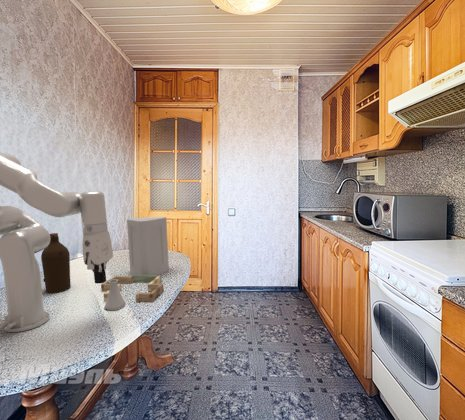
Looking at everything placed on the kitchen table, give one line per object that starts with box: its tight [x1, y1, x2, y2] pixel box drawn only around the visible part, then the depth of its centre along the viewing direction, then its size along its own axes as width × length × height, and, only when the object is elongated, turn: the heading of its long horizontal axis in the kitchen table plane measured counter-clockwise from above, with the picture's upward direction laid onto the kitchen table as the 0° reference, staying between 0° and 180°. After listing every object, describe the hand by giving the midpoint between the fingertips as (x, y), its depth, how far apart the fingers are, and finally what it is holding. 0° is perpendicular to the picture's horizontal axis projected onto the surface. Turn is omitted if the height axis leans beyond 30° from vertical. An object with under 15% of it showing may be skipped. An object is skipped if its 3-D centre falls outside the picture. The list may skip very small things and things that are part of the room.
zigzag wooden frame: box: [100, 274, 165, 303], centre depth 123 cm, size 23×27×3 cm
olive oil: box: [40, 232, 72, 294], centre depth 127 cm, size 11×11×25 cm
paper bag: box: [126, 216, 170, 275], centre depth 145 cm, size 19×15×28 cm
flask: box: [103, 279, 126, 311], centre depth 107 cm, size 7×7×10 cm
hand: (100, 282), depth 97 cm, fingers closed
